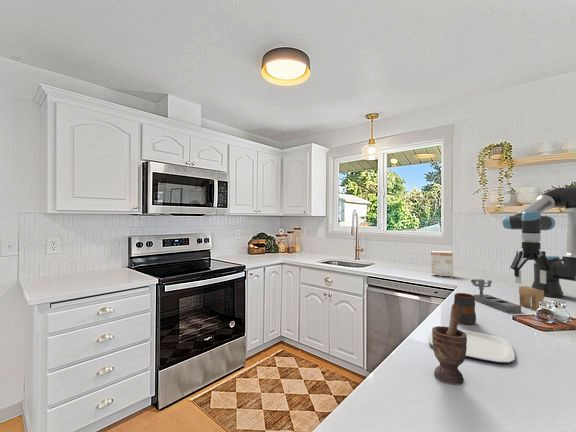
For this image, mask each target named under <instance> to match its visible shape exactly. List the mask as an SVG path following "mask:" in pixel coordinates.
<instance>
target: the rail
mask: <svg viewBox="0 0 576 432" xmlns="http://www.w3.org/2000/svg"><path fill="white" fill-rule="evenodd" d="M473 296H474V297H475V302H478V303H480V304H484V305H486V306H488V307H491V308H494V309H496V310H498V311H502V312H504V313H522V306H520V304H516V303H513V302H511V301H508V300H505V299H503V298H502V299H501V298H499V297H496V296H494V295H493V296H492V295H490V294H483V295H480V294H473Z"/></svg>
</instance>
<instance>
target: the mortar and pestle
mask: <svg viewBox="0 0 576 432" xmlns="http://www.w3.org/2000/svg"><path fill="white" fill-rule="evenodd" d="M450 309H451V310H450V316H449V317H450V318H449V325H448V326H443V325H442V326H439V325H438V326H437V325H436V326H433V327H432V330H431V333H432V343H433V346H432V350H433V353H434V356H435V359H436V360H437V361H438V362H439V365H437V366H436V367H435V368H434V371H433V376H434V377H435V378H436V379H437V380H438V381H439V382H442V383H447V384H451V385H461V384H463V383H464V380H465V378H464V375H463V374H462V372H461V371H460V370H459V366H461V365H462V364H463V363H464V362H465V358H466V356H465V355H466V349H467V346H466V344H467V335H466V334H465V333H464V332H462V331H461V330H462V329H461V330H458V329H459V328H458V325H459V324H460V323H459V319H460V317H461V315H462V310H463V306H462V305H461V304H458V303H454V302H453V303H452V306H451V308H450Z"/></svg>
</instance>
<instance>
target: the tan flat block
mask: <svg viewBox="0 0 576 432" xmlns="http://www.w3.org/2000/svg"><path fill="white" fill-rule="evenodd" d="M531 287H532V286H531ZM531 287H530V286H528V285H527V286H526V285H522V286H521V285H519V286H518V293H519V305H520V306H521V307H524V308H525V307H527V308H529V307H530V308H531V310H533V311H535V312H537V311H536V310H537V309H538V308H539V302H540V301H543V302H544V300H545V296H544V291H543V290H539V289H535V288H531Z"/></svg>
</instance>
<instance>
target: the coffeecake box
mask: <svg viewBox="0 0 576 432" xmlns="http://www.w3.org/2000/svg"><path fill="white" fill-rule="evenodd" d="M430 255H431V256H430V257H431V259H430V261H431V263H430V264H431V265H430V266H431V267H430V268H431V269H430V272H431V273H430V275H431V274H436V275H444V276H453V274H454V273H453V272H454V257H453V256H454V253H453V251H442V250H441V251H440V250H432V251H431V253H430Z"/></svg>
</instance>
